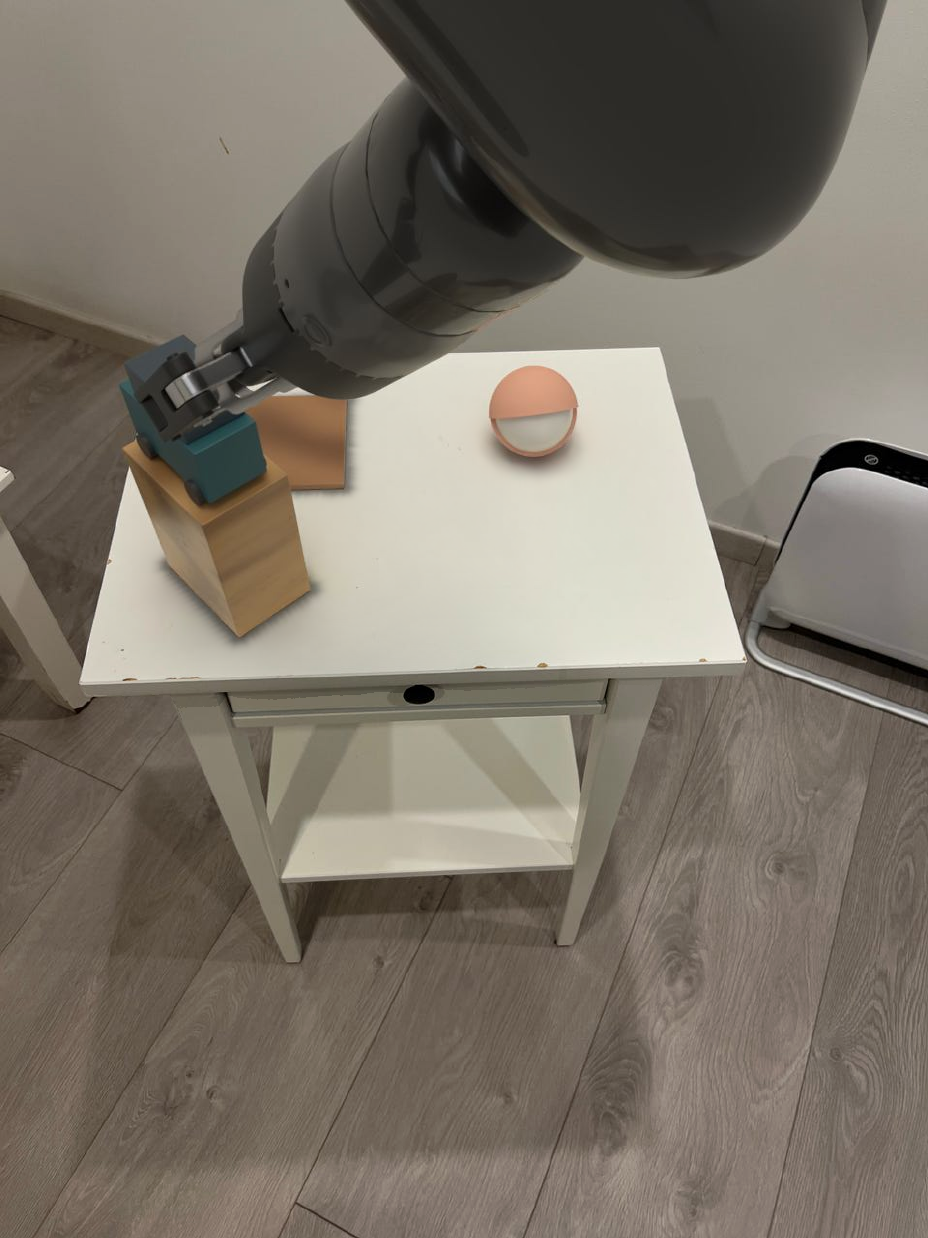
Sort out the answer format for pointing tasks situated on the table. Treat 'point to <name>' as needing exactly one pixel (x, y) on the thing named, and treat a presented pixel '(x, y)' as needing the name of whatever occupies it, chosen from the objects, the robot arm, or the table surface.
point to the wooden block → (227, 540)
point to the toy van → (196, 435)
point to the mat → (304, 438)
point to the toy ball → (533, 411)
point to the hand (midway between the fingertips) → (248, 376)
